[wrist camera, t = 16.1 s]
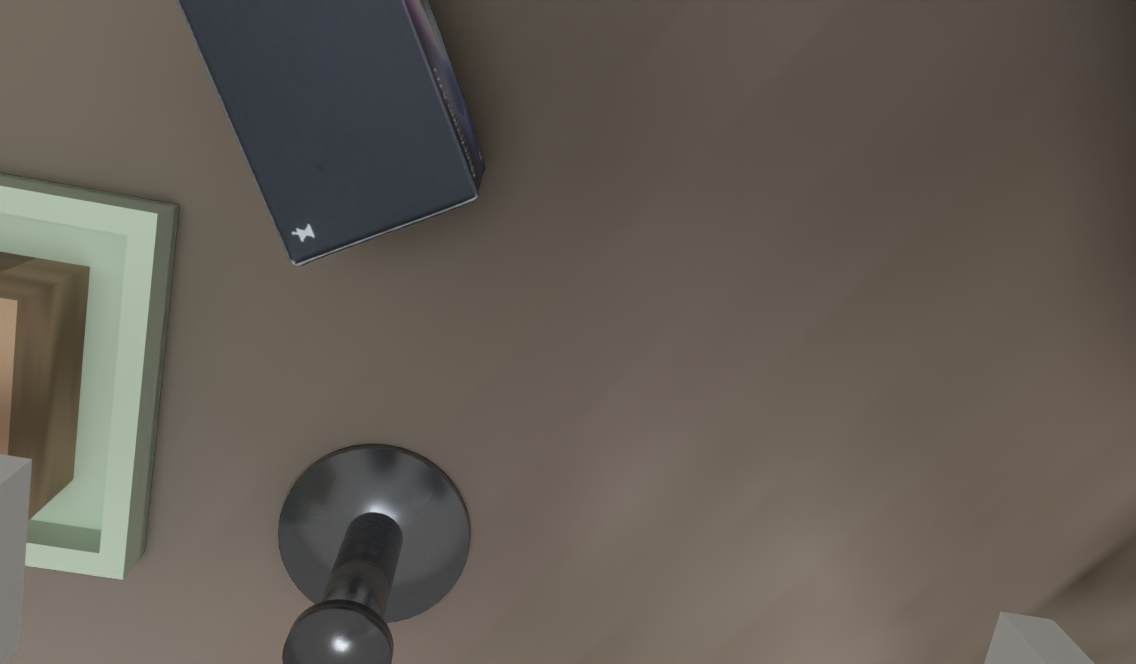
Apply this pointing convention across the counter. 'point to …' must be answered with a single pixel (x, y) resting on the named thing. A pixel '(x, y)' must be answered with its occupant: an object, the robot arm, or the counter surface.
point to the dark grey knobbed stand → (368, 550)
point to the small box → (340, 114)
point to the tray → (102, 363)
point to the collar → (41, 367)
